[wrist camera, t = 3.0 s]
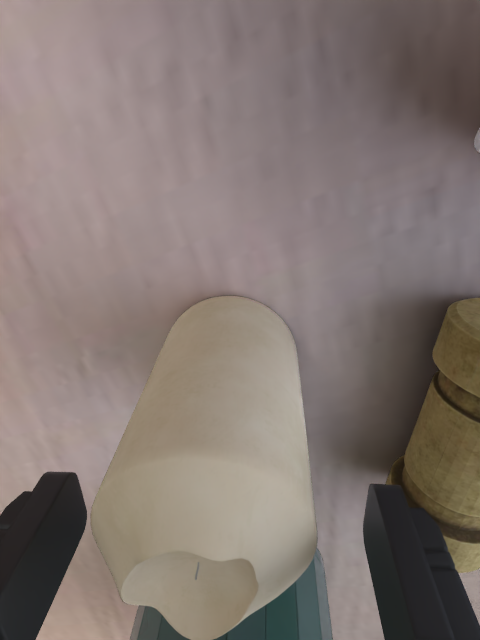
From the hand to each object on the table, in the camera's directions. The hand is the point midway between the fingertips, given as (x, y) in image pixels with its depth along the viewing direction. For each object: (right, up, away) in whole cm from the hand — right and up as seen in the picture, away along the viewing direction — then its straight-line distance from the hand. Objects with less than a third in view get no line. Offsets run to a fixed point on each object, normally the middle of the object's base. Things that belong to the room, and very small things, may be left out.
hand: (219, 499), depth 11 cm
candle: (0, +4, +6) cm, 7 cm away
